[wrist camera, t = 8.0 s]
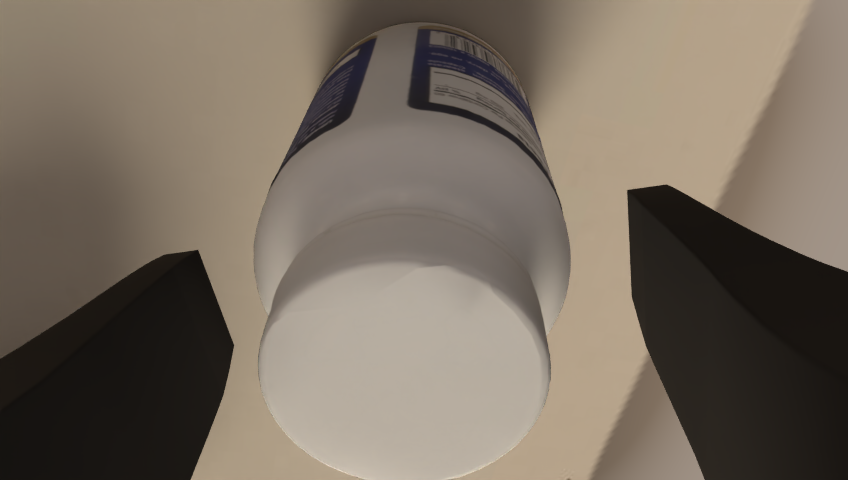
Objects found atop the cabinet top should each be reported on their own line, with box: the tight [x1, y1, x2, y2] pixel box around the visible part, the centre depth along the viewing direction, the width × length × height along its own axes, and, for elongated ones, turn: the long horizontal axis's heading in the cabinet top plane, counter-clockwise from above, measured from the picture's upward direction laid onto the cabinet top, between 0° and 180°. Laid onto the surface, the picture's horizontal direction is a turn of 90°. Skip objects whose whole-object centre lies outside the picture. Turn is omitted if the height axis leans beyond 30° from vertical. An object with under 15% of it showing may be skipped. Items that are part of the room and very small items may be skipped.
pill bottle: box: [254, 22, 571, 480], centre depth 14 cm, size 5×5×10 cm
